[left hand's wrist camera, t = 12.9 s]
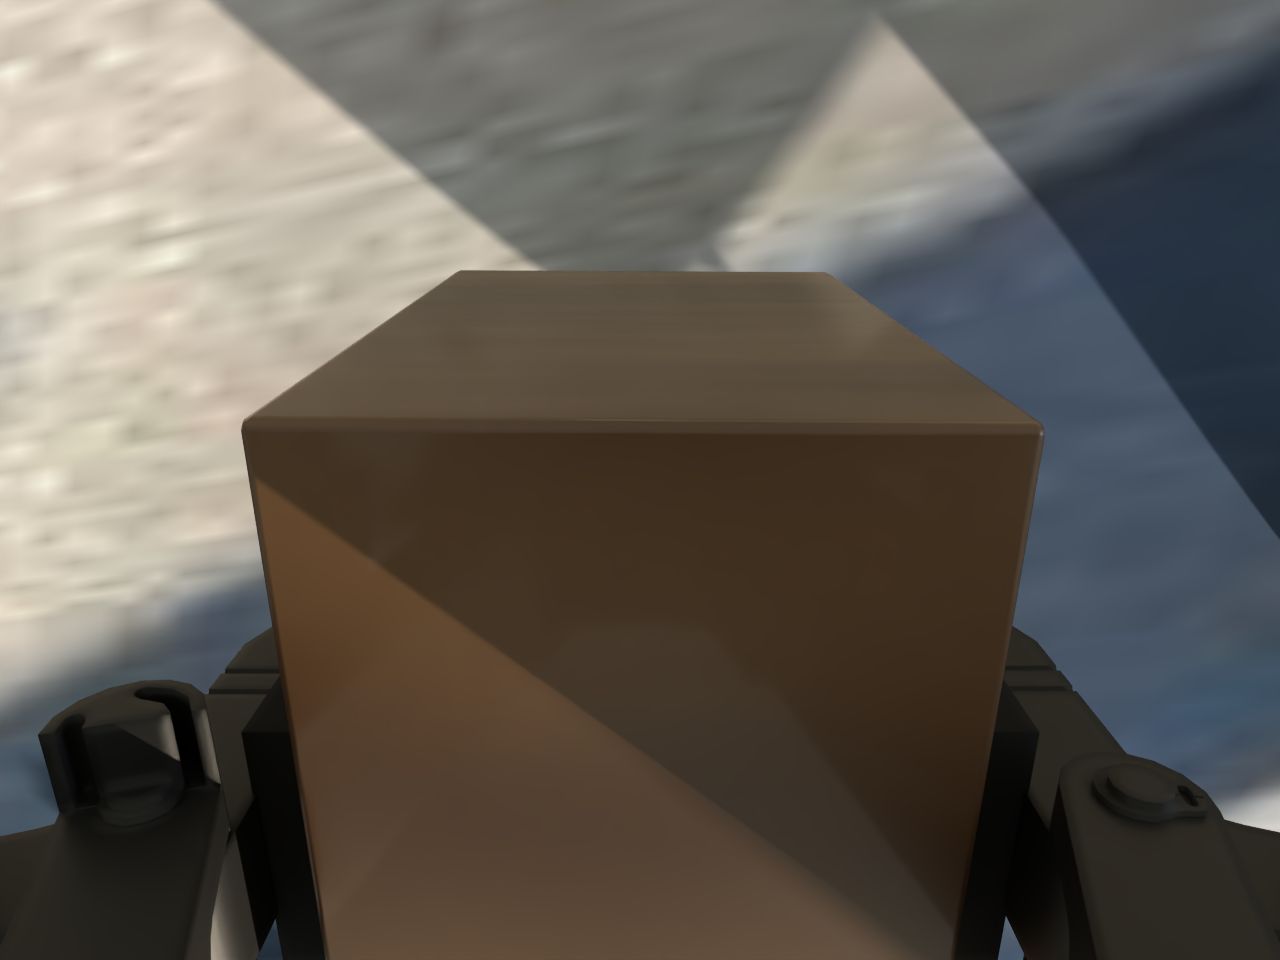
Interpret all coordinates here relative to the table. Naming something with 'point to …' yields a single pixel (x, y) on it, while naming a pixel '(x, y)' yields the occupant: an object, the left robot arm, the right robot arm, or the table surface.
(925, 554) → the bar
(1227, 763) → the table surface
